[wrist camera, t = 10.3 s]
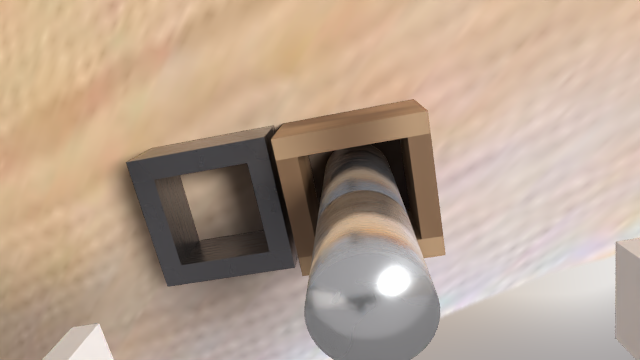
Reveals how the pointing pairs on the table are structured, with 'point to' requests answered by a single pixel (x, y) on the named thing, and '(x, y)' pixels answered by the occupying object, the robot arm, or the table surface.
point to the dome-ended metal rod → (367, 266)
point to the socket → (176, 220)
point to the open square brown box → (354, 131)
